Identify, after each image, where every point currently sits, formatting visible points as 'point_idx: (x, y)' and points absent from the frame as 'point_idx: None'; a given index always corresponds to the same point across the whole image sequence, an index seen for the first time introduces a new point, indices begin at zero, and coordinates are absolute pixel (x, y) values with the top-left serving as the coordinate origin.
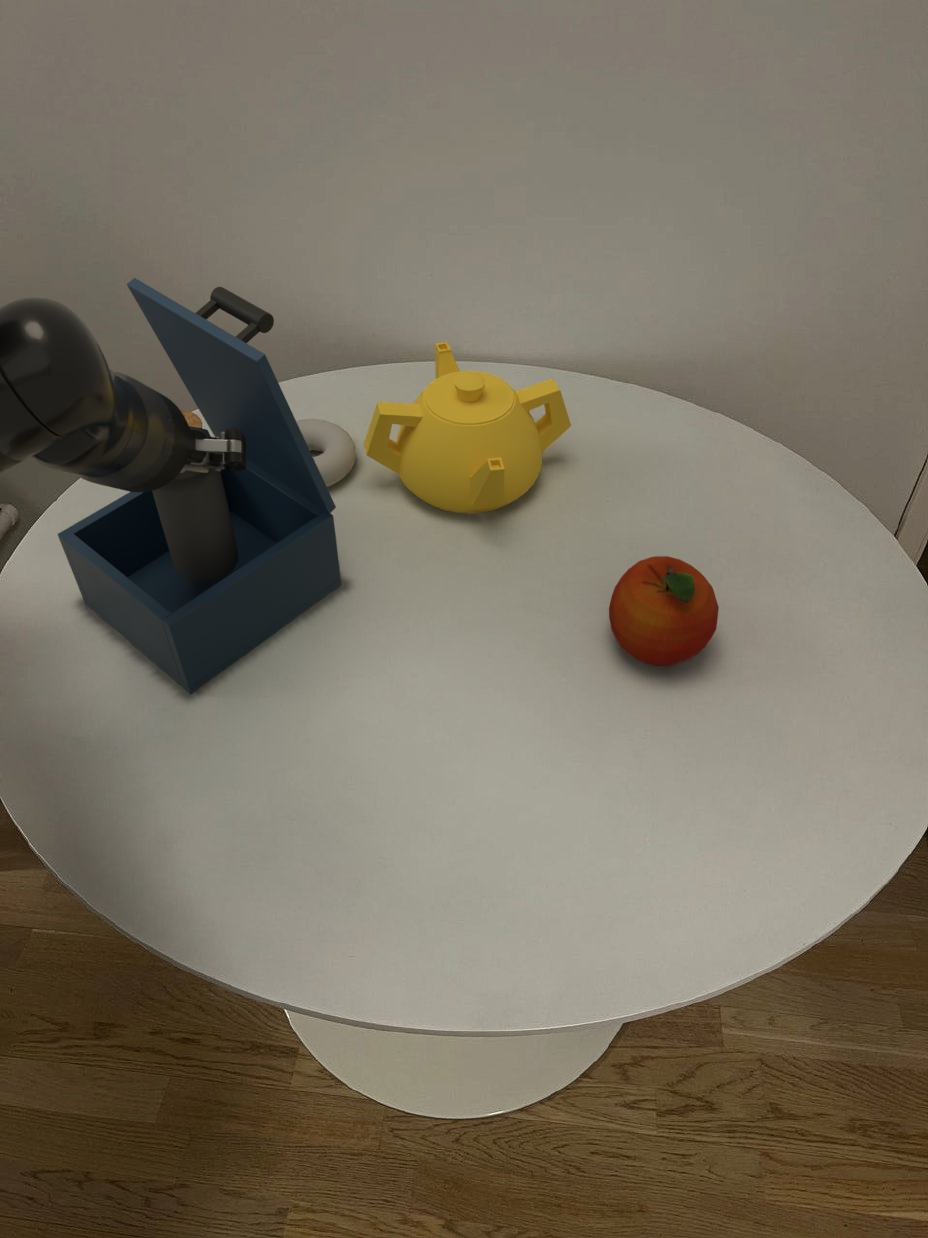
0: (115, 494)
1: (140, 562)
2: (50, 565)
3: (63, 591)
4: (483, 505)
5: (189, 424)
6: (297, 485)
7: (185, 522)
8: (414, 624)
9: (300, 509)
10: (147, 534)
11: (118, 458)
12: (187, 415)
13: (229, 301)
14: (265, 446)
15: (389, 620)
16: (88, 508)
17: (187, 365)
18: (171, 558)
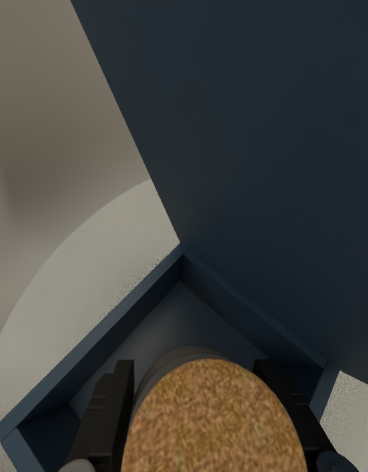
0: (82, 256)
1: (108, 356)
2: (25, 344)
3: (36, 382)
4: None
5: (268, 453)
6: (309, 341)
7: None
8: (363, 417)
9: (290, 345)
10: (114, 342)
11: None
12: (245, 395)
13: None
14: (301, 322)
15: (340, 412)
16: (61, 271)
17: (201, 207)
18: (136, 341)
